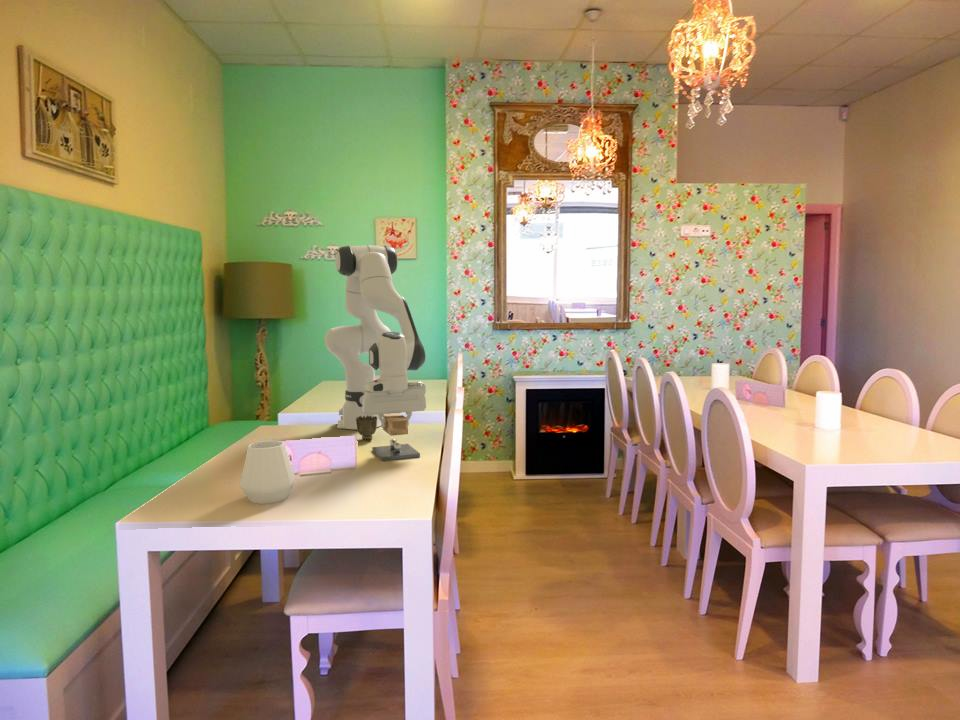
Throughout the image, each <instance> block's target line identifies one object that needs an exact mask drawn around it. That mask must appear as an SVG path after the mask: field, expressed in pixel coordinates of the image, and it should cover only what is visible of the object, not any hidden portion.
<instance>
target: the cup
mask: <svg viewBox="0 0 960 720" xmlns="http://www.w3.org/2000/svg"><path fill="white" fill-rule="evenodd" d="M356 423H357V429H356V430H357V433H359V435H360V436H361V439H362V440H363V441H370V440H372V439H373V435H374V434H375V432H376V430H377V427H376V426H377V416H375V417H374V416H373V417H371V416H368V415H367V416H366V418H365V416H363V417H361V416H359V417H357V419H356Z"/></svg>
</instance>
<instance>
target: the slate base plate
mask: <svg viewBox="0 0 960 720" xmlns="http://www.w3.org/2000/svg"><path fill="white" fill-rule="evenodd" d="M389 441H390V442H389V445H382V446H381V445H380V446H373V447H372V448H371V451H372V452H373V453H374V455H376V456H377V458H379V459H380V460H381V461H382V462H387V461H388V462H389V461H396V460H405V459H406V460H407V459H414V458H421V453H420V452H419V451H418V450H417V449H415V448H414V447H412V446H411V445H410V444H409V443H401V442H398V441H397V439H390V440H389Z"/></svg>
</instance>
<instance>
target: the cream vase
mask: <svg viewBox="0 0 960 720" xmlns="http://www.w3.org/2000/svg"><path fill="white" fill-rule="evenodd" d="M295 483H296V476H295V473H294V469H293V466H292V463H291V460H290V457H289V453H288V450H287V447H286V444H285V442H283V441H281V440H273V439H272V440H271V439H270V440H261V441H255V442H252V443H250V444H248V446H247V450H246V455H245V459H244V464H243V468H242V473H241V478H240V482H239V487H240V489H241V490H242V492H243V494H244V495H245V497H247V499H248V500H249V501H250V502H251V503H254V504H259V505H260V504H261V505H262V504H263V505H265V504H266V505H267V504H273V503H277V502H281V501H284V500H286V499H287V498H288V496H289V495H290V494H291V491H292V489H293V488H294V486H295Z"/></svg>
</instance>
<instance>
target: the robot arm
mask: <svg viewBox="0 0 960 720" xmlns="http://www.w3.org/2000/svg"><path fill="white" fill-rule="evenodd" d="M398 259H399V258H398V254H397V252H396V250H395V248H393V247H391V246H387V245H384V246H381V245H373V244H366V245H353V246H349V245H344V246H342V247H339V248H338V249H337V251H336V254H335V258H334V263H335V267H336V270H337V272H338V273H339V274H340V275H342V276H344V277H346V279H345V302H344V303H345V304H344V305H345V310H346V312H347V313H348V314H349V315H350V316H352V317H354V318H356V319H359V320H360V324H359V325H340V326H336V327H333V328H331V327H330V328H329V330H327V332H326V334H325V337H324V344H325V347H326V350H328V352H329V353H330V354H332V355H333V356H335V357H336V359H338V360H339V362H340V363H341V365H342V367H343V371H344V376H345V386H346V388H345V393H344V399H345V401H344V403H343V406H342V408H339V409H338V416H340V418H338V419H337V426H336V428H337V429H344V430H345V429H346V430H358V429H357V423H356V419H357V417H359V416H361V417H363V416H365V418H366V416H367V415H368V416H371V417H373V416H374V417H375V416H377V426H376V428H378V427H381V428H382V429H383V428H387V422H384V420H383V417H384V414H395V413H400V414H402V413H405V415H406V416H405V417H406V418H408V426H409V424H410V423H409V421H410V419H411V417H412V415H413V412H423V411H425V410H426V408H427V401H426V400H427V399H426V393H427V390H426V385H425V384H424V383H423V382H421V381H417V382H409V376H408V375H409V373H408V371H417V370H419V369H420V368H421V367H422V366H423V365H424V364H425V362H426V351H425V347H424V345H423V343H422V341H421V338H420V337H419V334H418V331H417V327H416V324H415V322H414V320H413V315H412V314H411V313H412V312H411V310H410V307H409V305H408V302H407V301H406V299H405V297H404V296H402V295H400V294H399V293H398V291H397V289H396V288H395V286H394V282H393V277H392V276H393V274H394V273H395V272H397V271H396V270H397V268H398V264H399V260H398ZM377 311H380V312H382V313H385V314H388V315H390V316H392V317H393V318H394V319H396V320H397V322H398V323H399V324H398V325H399V327H400V329H401V332H396V331H391V329H390V328H389V327H388V326H387V325H385V324H384V323H383V322H382V320H381V319H380V318H379V316H378V312H377ZM367 354H368V363H366V362H364V361H361V359H360V355H367ZM375 370H376V371H379V378H377V379H376V371H375Z"/></svg>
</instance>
